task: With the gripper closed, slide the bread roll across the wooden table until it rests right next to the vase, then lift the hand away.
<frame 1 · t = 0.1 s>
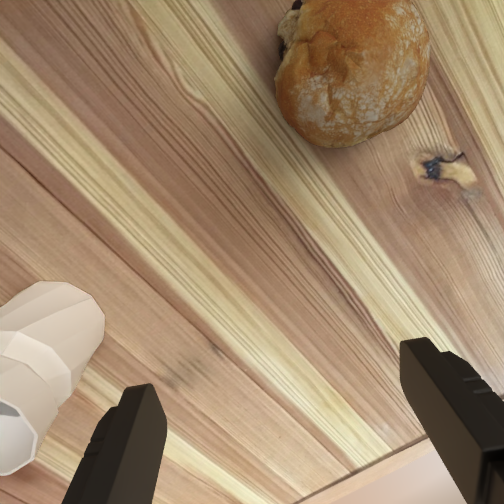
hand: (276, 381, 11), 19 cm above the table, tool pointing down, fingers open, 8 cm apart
vase: (62, 318, 31), on the table
bread roll: (337, 73, 24), on the table
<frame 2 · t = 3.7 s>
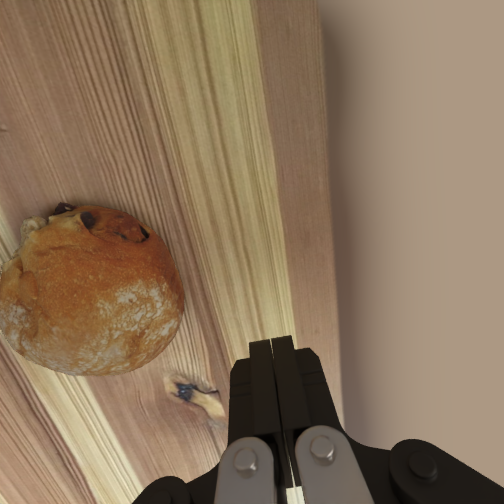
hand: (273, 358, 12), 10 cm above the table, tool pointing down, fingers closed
bread roll: (108, 274, 21), on the table
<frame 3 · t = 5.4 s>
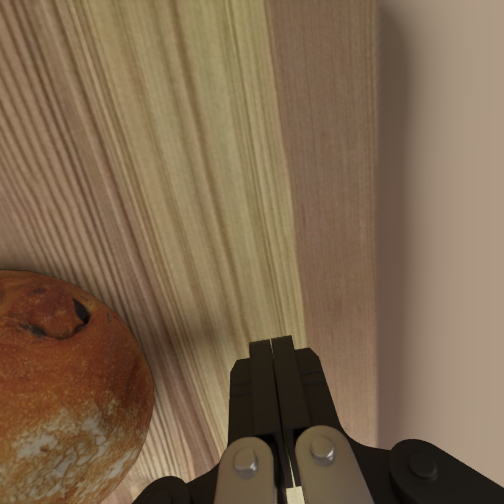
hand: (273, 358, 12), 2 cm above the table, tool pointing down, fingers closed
bread roll: (41, 359, 14), on the table
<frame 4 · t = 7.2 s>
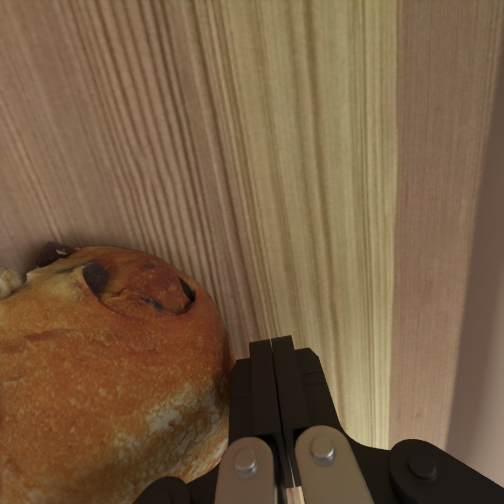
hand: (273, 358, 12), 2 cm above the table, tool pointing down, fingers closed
bread roll: (123, 341, 14), on the table, touching gripper
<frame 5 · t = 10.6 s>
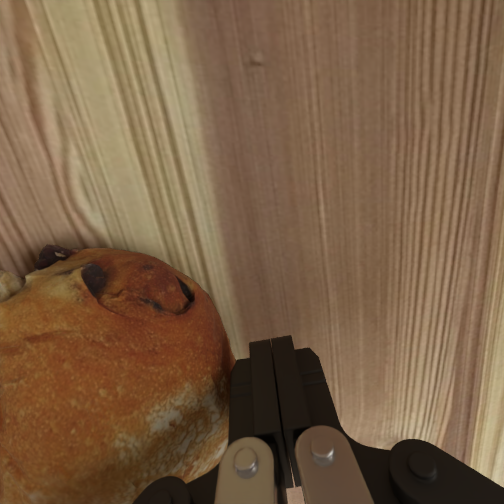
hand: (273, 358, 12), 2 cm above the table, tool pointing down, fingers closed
bread roll: (122, 343, 14), on the table, touching gripper
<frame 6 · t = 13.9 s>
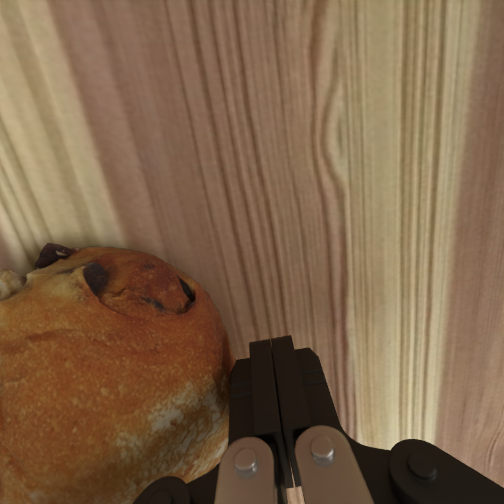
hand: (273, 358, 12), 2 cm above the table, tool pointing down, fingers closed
bread roll: (122, 342, 14), on the table, touching gripper
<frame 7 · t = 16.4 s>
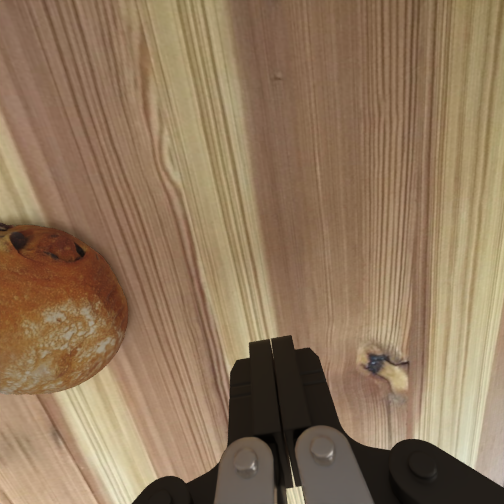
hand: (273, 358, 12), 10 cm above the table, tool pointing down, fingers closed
bread roll: (52, 290, 21), on the table
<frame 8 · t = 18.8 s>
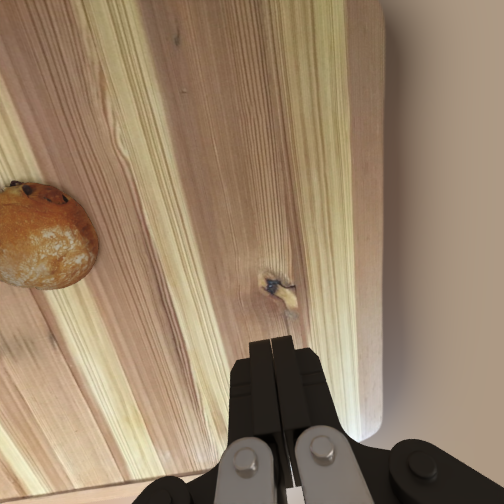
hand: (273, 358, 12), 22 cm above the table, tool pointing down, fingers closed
bread roll: (48, 229, 32), on the table
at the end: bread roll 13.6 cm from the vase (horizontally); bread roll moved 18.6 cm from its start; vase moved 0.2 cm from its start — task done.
